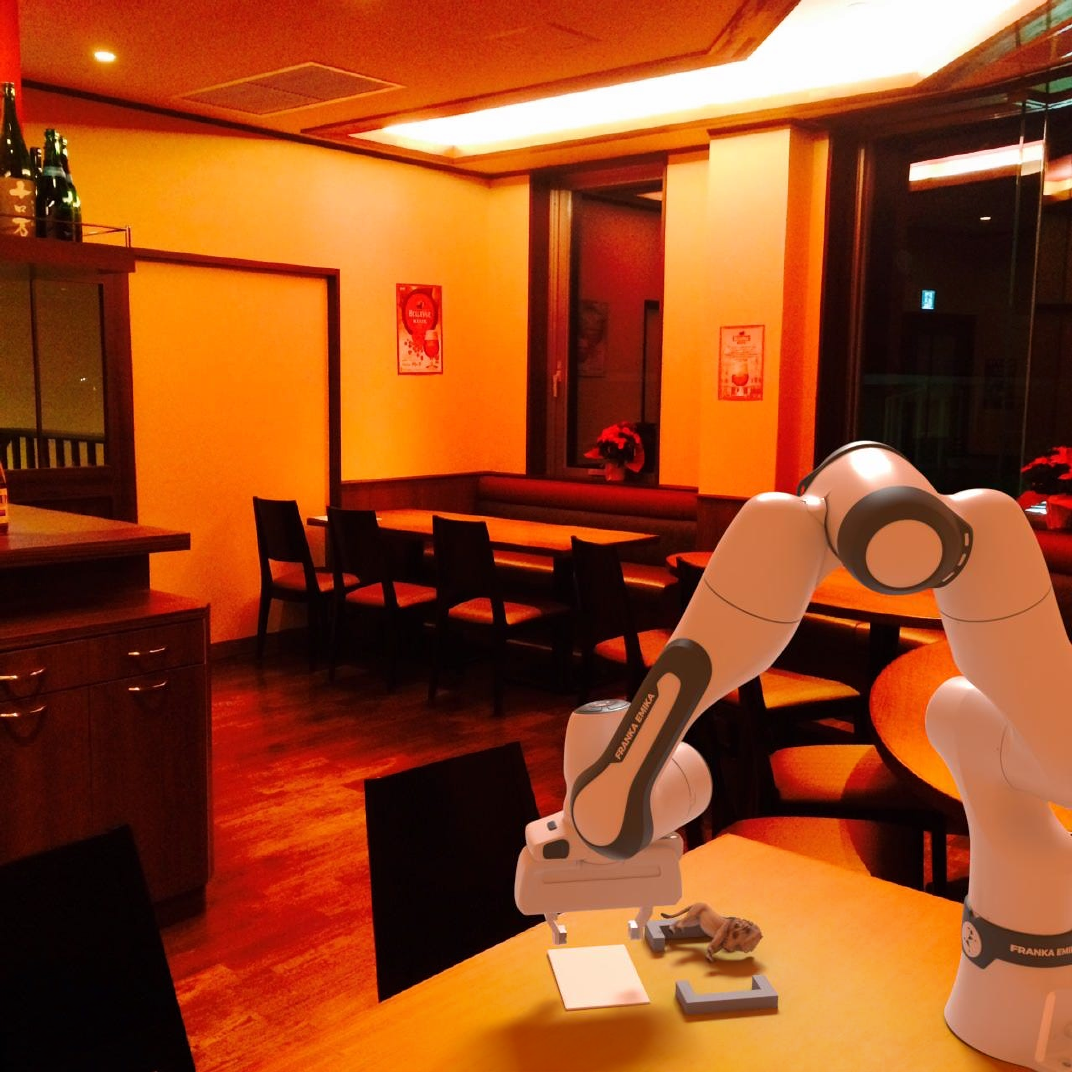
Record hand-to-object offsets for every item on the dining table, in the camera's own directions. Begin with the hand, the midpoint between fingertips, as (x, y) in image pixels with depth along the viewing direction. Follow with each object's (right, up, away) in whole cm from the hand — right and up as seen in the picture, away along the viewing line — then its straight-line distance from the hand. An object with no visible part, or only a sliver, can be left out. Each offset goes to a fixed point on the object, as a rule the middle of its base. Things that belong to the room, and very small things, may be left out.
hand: (597, 940), depth 130 cm
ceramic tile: (0, -5, +1) cm, 5 cm away
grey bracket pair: (+14, -5, +3) cm, 15 cm away
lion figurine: (+12, -3, +6) cm, 14 cm away
